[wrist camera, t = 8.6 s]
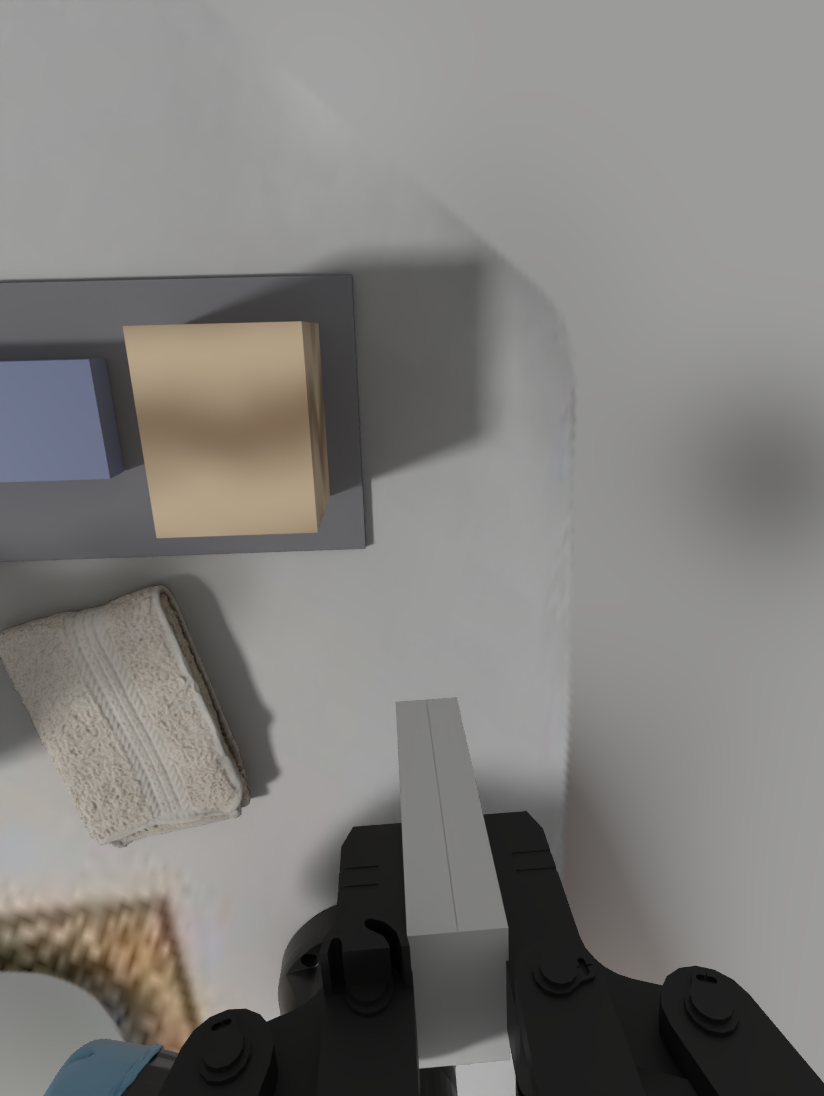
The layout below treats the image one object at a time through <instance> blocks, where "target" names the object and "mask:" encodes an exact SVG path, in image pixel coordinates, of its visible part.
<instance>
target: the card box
mask: <svg viewBox="0 0 824 1096" xmlns="http://www.w3.org/2000/svg"><path fill="white" fill-rule="evenodd" d="M122 472H124V465H123V459H122V453H121V447H120V442H119V436H118V430H117V424H116V418H115V412H114V406H113V401H112V395H111V389H110V383H109V377H108V371H107V365H106V359H105V358H85V359H47V360H9V361H0V482H28V481H60V480H91V479H111V478H113V477H115V476H117V475H119V474H120V473H122Z"/></svg>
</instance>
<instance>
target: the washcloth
mask: <svg viewBox="0 0 824 1096" xmlns="http://www.w3.org/2000/svg"><path fill="white" fill-rule="evenodd" d="M0 658H1V659H2V660H3V665H4V667H5V670H6V672H7V673H8V676H9V678H10V679H12V681H13V684H14V688H15V690H16V691H18V692H19V694H20V695H21V697H22V704H23V705H24V706H25V707H26V708H27V711H28V713H29V715H30V716H31V718H32V720H33V725H34V726H35V728H36V729H37V732H38V733H39V735H40V738H41V741H42V745H44V746H45V748H46V749H47V750H48V753H49V755H50V756H51V760H52V762H53V763H54V764H55V766H56V767H57V768H56V769H57V772H58V773H59V774H60V776H61V778H62V780H63V781H64V783H65V784H66V786H67V788H68V791H69V792H70V794H71V797H72V798H73V800H74V802H75V803H76V804H77V805H76V807H77V809H78V811H79V814H80V815H81V820H83V821H84V825H85V827H86V828H88V830H89V834H90V835H91V838H93V839H94V840H95V841H97V843H99V844H101V845H102V844H106V843H108V844H110V845H112V846H115V847H119V848H121V847H125V846H127V844H129V843H131V842H133V841H134V840H137V839H142V838H145V837H147V836H151V835H156V834H163V833H167V832H172V831H175V830H180V829H186V828H190V827H196V826H202V825H206V824H210V823H213V822H217V821H220V820H225V819H229V818H237V817H239V816H240V815H241V808H242V807H245V806H247V805H248V804H249V803H250V796H249V790H248V789H247V787H246V786H247V783H245V780H246V772H245V769H244V768H243V762H242V761H241V756H240V753H239V749H238V747H237V745H236V742H235V740H234V737H233V735H232V733H231V731H230V729H229V725H228V723H227V721H226V719H225V717H224V714H223V711H222V708H221V706H220V704H219V702H218V699H217V696H216V694H215V692H214V689H213V687H212V684H211V682H210V680H209V678H208V676H207V673H206V671H205V669H204V666H203V664H202V661H201V660H200V657H199V655H198V653H197V651H196V648H195V646H194V643H193V641H192V639H191V636H190V634H189V630H188V628H187V626H186V623H185V621H184V618H183V616H182V614H181V612H180V609H179V606H178V604H177V602H176V600H175V599H174V597H173V595H172V593H171V592H170V591H169V589H168V588H166V587H165V586H162V585H159V586H154V587H147V588H144V589H142V590H138V591H135V592H133V593H131V594H126V595H124V596H122V597H120V598H117V599H115V600H113V601H109V602H108V604H106V605H103V606H100V607H93V608H91V609H84V610H82V611H80V612H71V611H68V612H63V613H58V614H53V615H51V616H48V617H46V618H40V619H38V620H35V621H34V620H30V621H29V622H28V623H24V624H20V625H17V626H14V627H12V628H8V629H6V630H4V631H1V632H0Z"/></svg>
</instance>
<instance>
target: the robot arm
mask: <svg viewBox="0 0 824 1096" xmlns="http://www.w3.org/2000/svg"><path fill="white" fill-rule="evenodd" d="M396 716H397V737H398V758H399V779H400V800H401V821H402V823H395V824H383V825H370V826H358V827H353V828H352V830H351V832H350V833H349V835H348V837H347V838H346V840H345V842H344V843H343V845H342V847H341V860H340V873H339V886H338V887H339V891H338V899H337V906H336V907H333V908H331V909H328V910H326V911H324V912H322V913H320V914H319V915H317V916H315V917H314V918H312V919H311V920H310V921H308V922H307V923H306V924H305V925H303V926H302V927H301V928H300V929H299V930H298V931H297V933H296V934H295V935H294V936H293V938H292V939H291V941H290V942H289V944H288V946H287V948H286V950H285V953H284V957H283V961H282V967H281V973H280V979H279V987H278V1001H279V1008H280V1014H281V1016H279V1017H277V1018H274V1019H272V1020H270V1021H267V1022H266V1021H265V1020H264V1018H263V1017H262V1016H261V1015H260V1014H258V1013H255V1012H253V1011H250V1010H248V1009H230V1010H226V1011H224V1012H221V1013H219V1014H216V1015H214V1016H212V1017H210V1018H208V1019H207V1020H206V1021H205V1022H204V1023H202V1024H201V1025H200V1026H199V1027H197V1028H196V1029H195V1030H194V1031H193V1032H192V1034H191V1035H190V1037H189V1038H188V1039H187V1041H186V1042H185V1044H184V1045H183V1046H182V1048H181V1050H180V1052H179V1053H176V1052H172V1051H168V1050H165V1049H163V1047H164V1046H162V1045H160V1044H154V1045H152V1046H146V1045H140V1044H134V1043H128V1042H122V1041H115V1040H110V1039H99V1040H94V1041H91V1042H89V1043H87V1044H85V1045H83V1046H82V1047H81V1048H79V1049H78V1050H77V1051H75V1053H73V1054H72V1055H71V1056H70V1057H69V1059H68V1060H67V1061H66V1062H65V1063H64V1065H63V1066H62V1068H61V1069H60V1070H59V1072H58V1073H57V1075H56V1076H55V1078H54V1080H53V1081H52V1083H51V1085H50V1086H49V1088H48V1089H47V1091H46V1092H45V1094H44V1096H457V1085H456V1073H455V1067H456V1065H463V1064H473V1063H484V1062H495V1061H506V1060H510V1048H511V1054H512V1059H513V1064H514V1070H515V1075H516V1096H824V1083H823V1082H822V1080H821V1079H820V1078H819V1077H818V1076H817V1074H816V1073H815V1072H814V1071H813V1070H812V1069H811V1067H810V1066H809V1065H808V1064H807V1063H806V1061H805V1060H804V1059H803V1058H802V1057H801V1055H800V1054H799V1053H798V1052H797V1051H796V1049H795V1048H794V1047H793V1046H792V1045H791V1044H790V1043H789V1041H788V1040H787V1039H786V1038H785V1036H784V1035H783V1034H782V1033H781V1032H780V1031H779V1029H778V1028H777V1027H776V1026H775V1025H774V1023H773V1022H772V1021H771V1020H770V1019H769V1017H768V1016H767V1015H766V1014H765V1013H764V1011H763V1010H762V1009H761V1008H760V1007H759V1005H758V1004H757V1003H756V1002H755V1001H754V1000H753V998H752V997H751V996H750V995H749V994H748V993H747V992H746V991H745V990H744V989H743V988H742V987H741V986H739V985H738V984H737V983H736V982H735V981H734V980H733V979H731V978H729V977H727V976H725V975H723V974H721V973H719V972H717V971H716V970H713V969H708V968H703V967H699V966H691V967H683V968H679V969H677V970H676V971H674V972H673V973H671V974H670V975H668V976H667V978H666V979H665V982H664V984H663V986H662V985H658V984H653V983H649V982H644V981H640V980H635V979H631V978H628V977H625V976H622V975H619V974H617V973H615V972H613V971H611V970H609V969H608V968H606V967H604V966H603V965H602V964H601V963H599V962H598V961H597V960H596V959H594V957H593V956H592V955H591V954H590V953H589V951H588V950H587V949H586V948H585V946H584V944H583V942H582V940H581V938H580V936H579V933H578V930H577V927H576V924H575V922H574V918H573V915H572V913H571V910H570V907H569V904H568V901H567V898H566V895H565V892H564V889H563V886H562V883H561V880H560V877H559V875H558V872H557V871H556V866H555V863H554V860H553V857H552V854H551V853H550V848H549V845H548V842H547V840H546V837H545V834H544V831H543V828H542V827H541V826H540V825H539V824H538V823H537V822H536V821H535V820H534V819H533V818H532V817H531V816H530V814H529V813H528V812H527V811H523V812H510V813H498V814H485V815H483V812H482V808H481V803H480V799H479V795H478V790H477V786H476V781H475V777H474V772H473V768H472V763H471V759H470V754H469V750H468V745H467V741H466V736H465V732H464V727H463V723H462V719H461V714H460V710H459V705H458V701H457V697H455V698H442V699H429V700H415V701H402V702H396Z"/></svg>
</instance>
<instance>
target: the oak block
mask: <svg viewBox="0 0 824 1096" xmlns="http://www.w3.org/2000/svg"><path fill="white" fill-rule="evenodd" d="M123 332H124V338H125V345H126V351H127V357H128V363H129V370H130V376H131V382H132V388H133V395H134V401H135V407H136V413H137V420H138V426H139V432H140V438H141V444H142V451H143V457H144V463H145V469H146V476H147V482H148V488H149V494H150V501H151V507H152V513H153V519H154V525H155V532H156V538H176V537H205V536H233V535H262V534H291V533H318V530H319V527H320V524H321V521H322V518H323V515H324V512H325V509H326V506H327V504H328V501H329V498H330V487H329V472H328V457H327V443H326V428H325V413H324V398H323V383H322V369H321V354H320V339H319V324H318V323H310V322H303V321H295V322H256V323H218V324H179V325H140V326H123Z"/></svg>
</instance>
